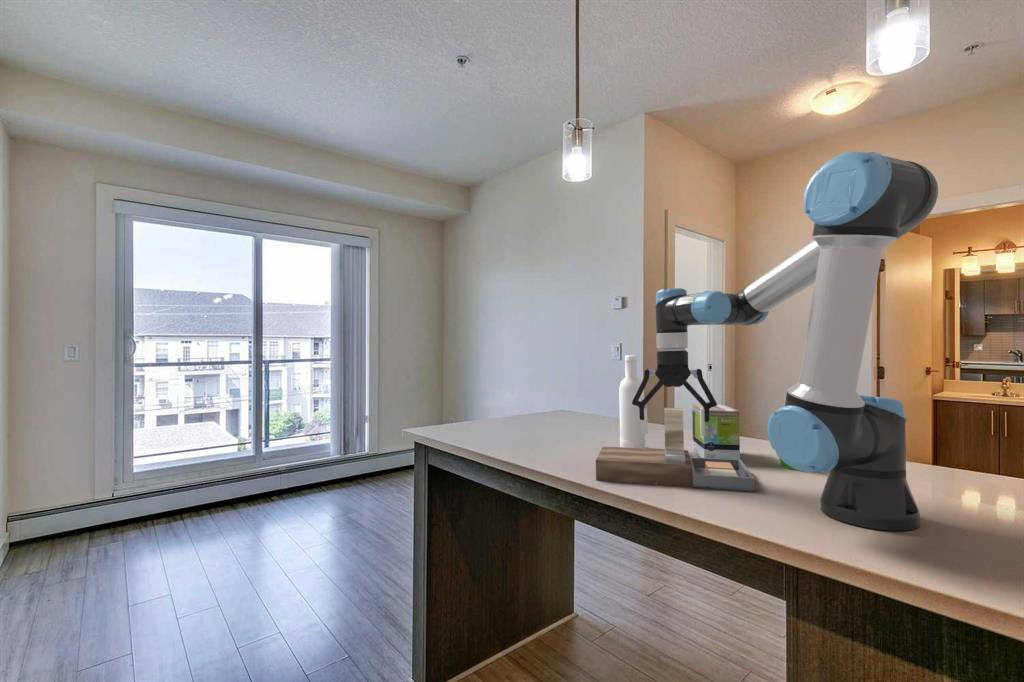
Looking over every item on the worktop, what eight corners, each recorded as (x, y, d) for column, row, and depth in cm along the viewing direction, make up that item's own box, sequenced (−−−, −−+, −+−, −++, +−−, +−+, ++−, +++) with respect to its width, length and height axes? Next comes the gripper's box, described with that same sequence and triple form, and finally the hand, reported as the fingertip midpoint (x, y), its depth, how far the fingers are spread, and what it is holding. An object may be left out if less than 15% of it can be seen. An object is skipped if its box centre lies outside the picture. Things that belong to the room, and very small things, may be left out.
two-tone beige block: (685, 464, 111) (684, 413, 111) (665, 463, 112) (664, 413, 112) (682, 450, 126) (681, 405, 126) (664, 449, 127) (663, 405, 127)
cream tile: (710, 475, 110) (710, 483, 110) (738, 476, 109) (738, 485, 109) (708, 468, 116) (708, 476, 116) (734, 470, 114) (734, 478, 114)
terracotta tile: (707, 467, 118) (707, 475, 118) (733, 468, 116) (733, 476, 116) (705, 461, 123) (705, 468, 123) (730, 462, 121) (730, 470, 121)
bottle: (627, 445, 157) (625, 355, 157) (649, 448, 152) (647, 355, 152) (615, 449, 151) (613, 355, 151) (638, 452, 146) (636, 355, 146)
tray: (755, 491, 106) (754, 478, 106) (693, 487, 109) (692, 474, 109) (741, 471, 123) (741, 459, 123) (688, 468, 127) (687, 457, 127)
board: (692, 486, 110) (692, 465, 110) (596, 480, 117) (595, 459, 117) (688, 469, 126) (687, 450, 126) (603, 464, 132) (602, 446, 132)
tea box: (741, 463, 131) (740, 410, 131) (703, 462, 133) (702, 409, 133) (725, 451, 146) (724, 403, 146) (691, 450, 148) (690, 403, 148)
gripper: (723, 349, 119) (725, 432, 119) (622, 350, 127) (624, 429, 126) (727, 349, 112) (729, 438, 112) (620, 350, 119) (622, 434, 119)
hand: (673, 434), depth 119 cm, fingers open, 13 cm apart
